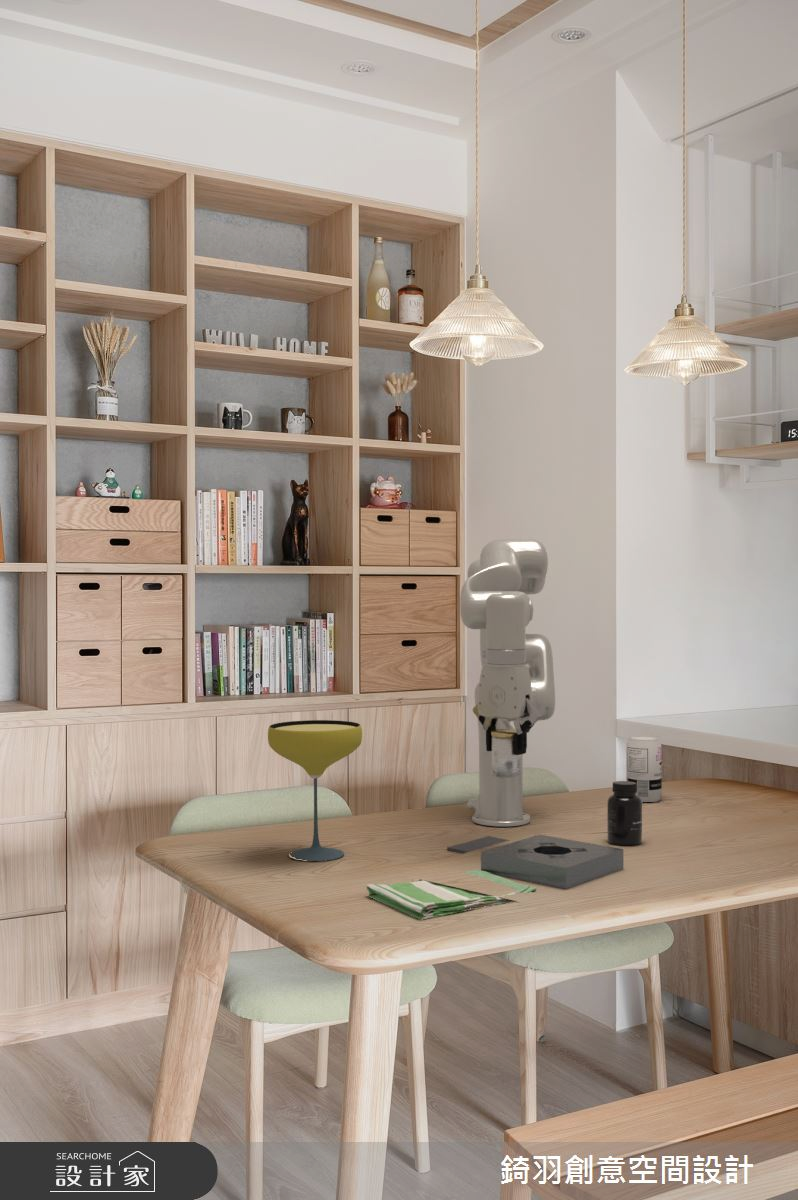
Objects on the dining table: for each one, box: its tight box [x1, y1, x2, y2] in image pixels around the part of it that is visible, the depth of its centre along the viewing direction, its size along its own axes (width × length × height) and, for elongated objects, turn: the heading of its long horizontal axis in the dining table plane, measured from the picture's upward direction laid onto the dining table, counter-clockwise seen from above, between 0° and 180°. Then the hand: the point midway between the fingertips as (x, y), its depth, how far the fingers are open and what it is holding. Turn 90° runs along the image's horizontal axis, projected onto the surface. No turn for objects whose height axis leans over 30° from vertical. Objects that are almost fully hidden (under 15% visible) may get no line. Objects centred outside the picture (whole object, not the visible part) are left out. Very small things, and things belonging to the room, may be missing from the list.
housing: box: [480, 834, 624, 890], centre depth 198 cm, size 18×18×4 cm
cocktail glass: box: [267, 719, 363, 862], centre depth 214 cm, size 18×18×25 cm
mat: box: [446, 835, 510, 854], centre depth 218 cm, size 13×13×1 cm
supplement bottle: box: [606, 780, 643, 847], centre depth 223 cm, size 7×7×12 cm
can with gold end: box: [491, 728, 521, 778], centre depth 214 cm, size 6×6×8 cm
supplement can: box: [625, 735, 663, 803], centre depth 268 cm, size 8×8×15 cm
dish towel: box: [365, 869, 537, 921], centre depth 185 cm, size 18×23×3 cm
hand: (506, 751), depth 214 cm, fingers closed on can with gold end, 5 cm apart
